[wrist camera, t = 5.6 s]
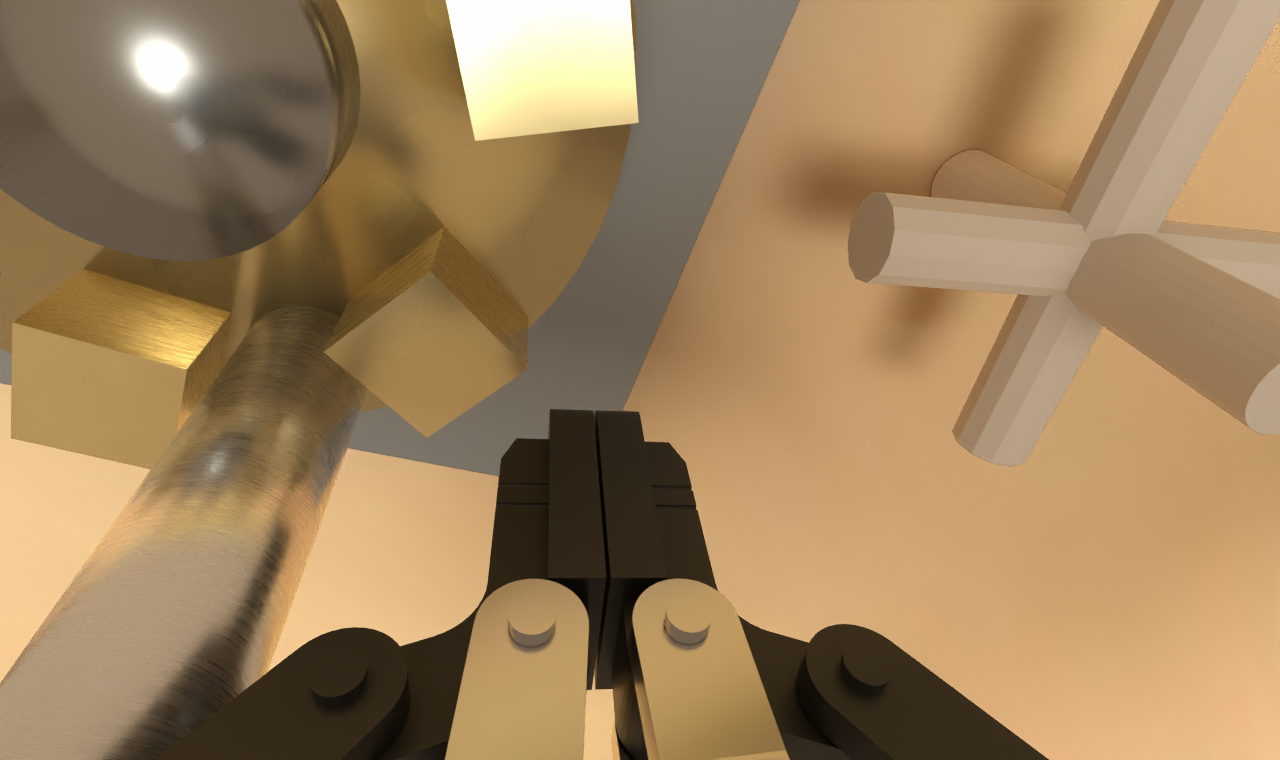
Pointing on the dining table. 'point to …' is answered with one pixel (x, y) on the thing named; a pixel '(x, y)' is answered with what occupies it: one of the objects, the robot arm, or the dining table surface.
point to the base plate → (619, 234)
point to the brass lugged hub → (266, 292)
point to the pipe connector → (1103, 244)
